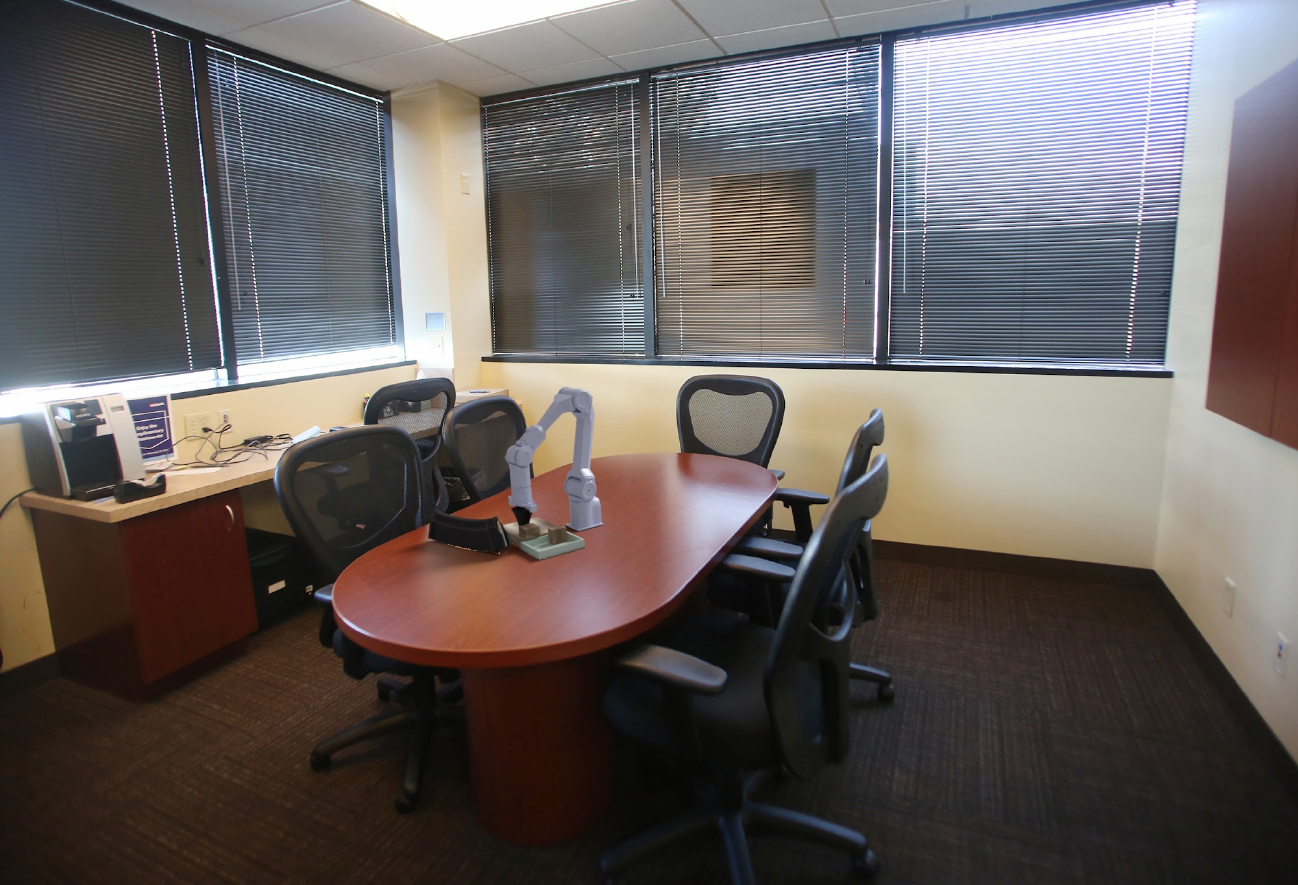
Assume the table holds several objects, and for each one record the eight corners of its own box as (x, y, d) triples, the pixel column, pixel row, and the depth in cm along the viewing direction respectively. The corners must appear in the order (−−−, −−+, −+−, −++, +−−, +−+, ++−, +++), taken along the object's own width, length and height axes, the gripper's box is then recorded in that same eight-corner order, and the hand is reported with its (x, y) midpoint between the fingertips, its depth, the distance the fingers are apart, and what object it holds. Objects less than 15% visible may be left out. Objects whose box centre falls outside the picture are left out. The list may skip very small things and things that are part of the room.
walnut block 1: (532, 532, 211) (532, 522, 211) (540, 536, 208) (539, 526, 207) (519, 535, 209) (518, 526, 208) (526, 539, 205) (525, 529, 205)
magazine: (419, 513, 215) (488, 495, 199) (427, 510, 217) (496, 493, 201) (436, 567, 215) (506, 554, 199) (444, 563, 218) (514, 550, 202)
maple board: (537, 526, 227) (537, 517, 226) (563, 538, 214) (562, 528, 214) (497, 535, 219) (496, 526, 218) (521, 549, 206) (520, 539, 206)
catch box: (565, 538, 214) (565, 530, 214) (585, 547, 206) (584, 539, 205) (520, 550, 206) (520, 541, 205) (539, 560, 197) (538, 551, 196)
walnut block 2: (561, 524, 211) (566, 527, 209) (561, 539, 212) (567, 541, 210) (547, 528, 209) (552, 530, 206) (548, 542, 210) (553, 545, 207)
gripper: (497, 483, 212) (501, 527, 214) (520, 493, 200) (523, 539, 203) (519, 479, 216) (522, 522, 218) (542, 488, 204) (545, 533, 207)
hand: (524, 530), depth 211 cm, fingers closed
